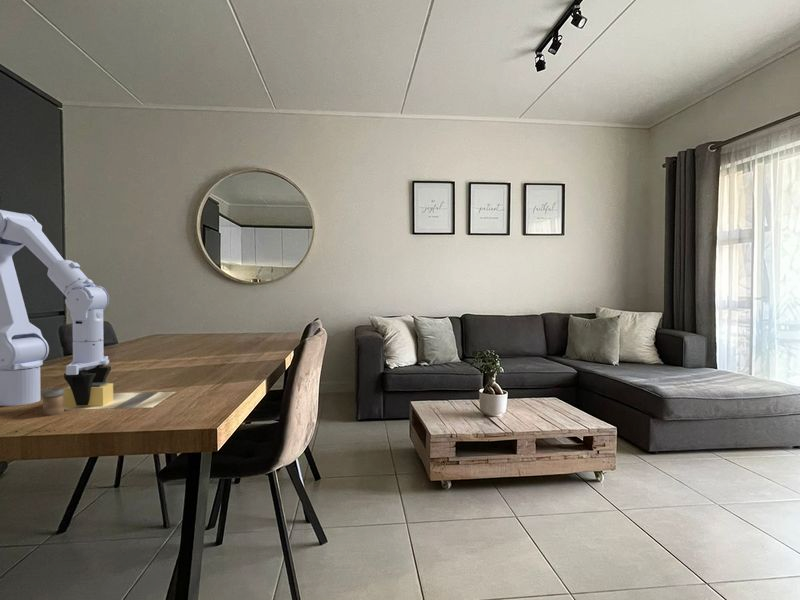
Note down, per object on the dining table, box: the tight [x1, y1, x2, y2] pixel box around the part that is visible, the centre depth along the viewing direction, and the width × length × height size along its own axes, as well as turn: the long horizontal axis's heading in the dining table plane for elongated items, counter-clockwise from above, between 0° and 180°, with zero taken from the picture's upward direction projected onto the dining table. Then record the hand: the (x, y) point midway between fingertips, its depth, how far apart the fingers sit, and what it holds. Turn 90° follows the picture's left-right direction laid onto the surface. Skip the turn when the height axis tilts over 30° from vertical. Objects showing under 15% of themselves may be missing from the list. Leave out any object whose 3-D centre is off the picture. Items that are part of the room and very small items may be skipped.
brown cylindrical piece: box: [41, 387, 65, 417], centre depth 98 cm, size 4×4×6 cm
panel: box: [64, 391, 176, 411], centre depth 111 cm, size 20×16×1 cm
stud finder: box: [62, 382, 114, 407], centre depth 107 cm, size 8×5×4 cm, turn 98°
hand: (88, 402), depth 107 cm, fingers closed on stud finder, 5 cm apart
